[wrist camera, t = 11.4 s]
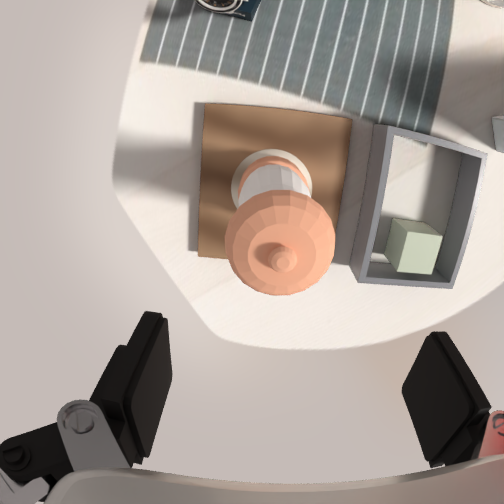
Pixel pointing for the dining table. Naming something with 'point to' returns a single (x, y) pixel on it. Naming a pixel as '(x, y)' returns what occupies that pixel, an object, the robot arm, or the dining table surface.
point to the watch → (232, 7)
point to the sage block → (412, 246)
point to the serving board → (261, 145)
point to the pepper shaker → (278, 230)
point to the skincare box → (498, 132)
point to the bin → (457, 223)
